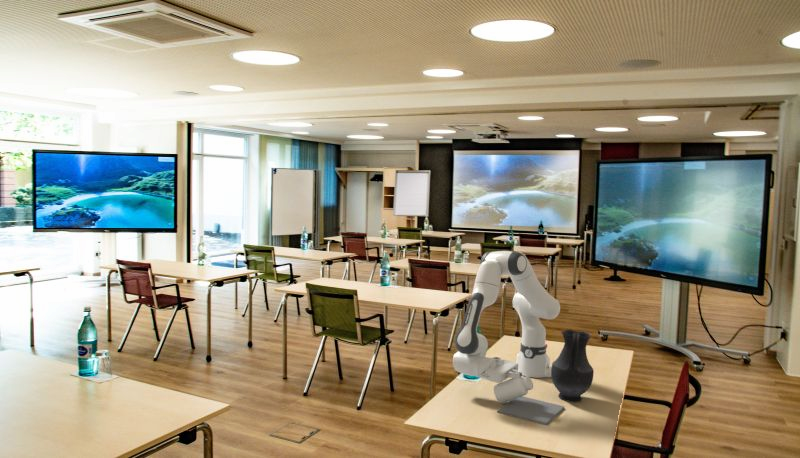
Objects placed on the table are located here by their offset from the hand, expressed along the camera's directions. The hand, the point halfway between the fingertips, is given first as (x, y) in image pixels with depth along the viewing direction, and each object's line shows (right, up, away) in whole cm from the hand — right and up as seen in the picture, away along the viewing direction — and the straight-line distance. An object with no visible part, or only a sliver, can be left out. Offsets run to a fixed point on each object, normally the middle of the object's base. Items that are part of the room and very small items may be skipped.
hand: (520, 375), depth 241 cm
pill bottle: (-8, -9, +5) cm, 14 cm away
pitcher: (+24, -14, +13) cm, 30 cm away
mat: (+4, -14, -2) cm, 14 cm away
